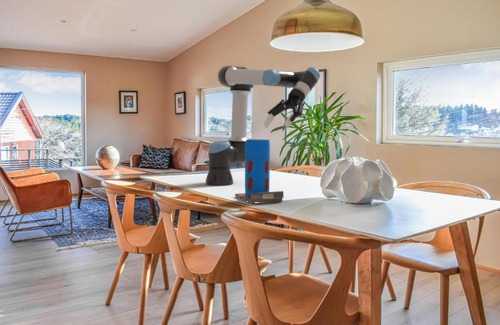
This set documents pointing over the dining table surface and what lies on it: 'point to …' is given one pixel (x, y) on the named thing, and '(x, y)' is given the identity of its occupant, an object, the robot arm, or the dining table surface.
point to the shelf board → (262, 197)
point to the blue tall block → (257, 166)
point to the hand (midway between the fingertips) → (275, 125)
